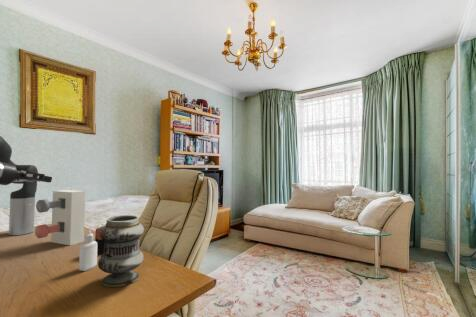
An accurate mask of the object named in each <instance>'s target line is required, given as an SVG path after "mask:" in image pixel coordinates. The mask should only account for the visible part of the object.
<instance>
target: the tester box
mask: <svg viewBox="0 0 476 317" xmlns="http://www.w3.org/2000/svg"><path fill="white" fill-rule="evenodd" d="M52 201H60V207H57V208H51V209H52V210H51V226H52V225H60V227H59V231H58V232H53V233H50V240H51V241H50V242H51V243H55V244H60V245H66V246H72V245H73V246H74V245H77V244H80V243H81V244H82V243H85V217H86V216H85V214H86V213H85V212H86V191H85V190H76V189H75V190H72V189H61V190H52Z"/></svg>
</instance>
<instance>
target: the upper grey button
mask: <svg viewBox="0 0 476 317" xmlns="http://www.w3.org/2000/svg"><path fill="white" fill-rule="evenodd" d="M57 207H60V201H53V200H52V201H49V200H48V199H45V198H44V199H39V200H37V202H36V203H35V208H36V212H38V213H40V214H41V213H48V211H49V210H50V209H52V208H57Z"/></svg>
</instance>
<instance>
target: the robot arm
mask: <svg viewBox="0 0 476 317" xmlns="http://www.w3.org/2000/svg"><path fill="white" fill-rule="evenodd" d="M12 149H13V148H12V146H10V144H9V143H8V142H7V141H6V140H5V139H4V137H2V136H1V135H0V186H9V185H10V184H15V185H18V184H19V185H20V184H22V187H21V188H19V189H17V190H15V191H11V192H10V193H9V195H10V196H9V198H10V199H9V216H8V218H9V219H8V221H9V222H8V235H9V236H21V235H26V234H31V233H33V232H35V208H36V193H37V187H38V183H39V182H44V183H52V180H53V177H52V176H48V175H46V174H44V173H39V170H38V168H37V166H35V165H32V164H16V163H15V162H13V161H12V160H11V158H12V154H13V150H12Z"/></svg>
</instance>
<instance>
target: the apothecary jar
mask: <svg viewBox="0 0 476 317" xmlns="http://www.w3.org/2000/svg"><path fill="white" fill-rule="evenodd" d="M144 231H145V228H144V226H143V224H141V223H140V220H139V217H138V216H137V215H133V214H124V215H123V214H122V215H115V216H110V217H108V218H107V219H106V223H105V225H104V227H103V228H102V229H101V230H100V237H101V238H102V239H103V240H104V252H103V254H101V255H100V257H99V259H98V260H97V266H98V269H99V270H101V271H102V272H104V273H107V275H106V276H104V277H103V279H101V284H102V286H104V287H108V288H119V287H125V286H127V285H129V284H132V283H133V284H134V283H135V282H136V281H138V279H139V278H140V274H139V273H138V272H137V271H136V272H135V271H133V270H136V268H138V267H139V266H140V265H141V264H142V263H143V262H144V261H143V260H144V257H145V256H144V253H143V252H142V251H141V249H140V237H141V236H142V235H143V234H144Z"/></svg>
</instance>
